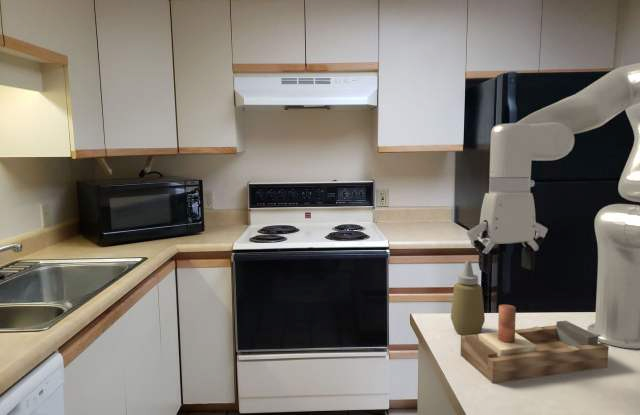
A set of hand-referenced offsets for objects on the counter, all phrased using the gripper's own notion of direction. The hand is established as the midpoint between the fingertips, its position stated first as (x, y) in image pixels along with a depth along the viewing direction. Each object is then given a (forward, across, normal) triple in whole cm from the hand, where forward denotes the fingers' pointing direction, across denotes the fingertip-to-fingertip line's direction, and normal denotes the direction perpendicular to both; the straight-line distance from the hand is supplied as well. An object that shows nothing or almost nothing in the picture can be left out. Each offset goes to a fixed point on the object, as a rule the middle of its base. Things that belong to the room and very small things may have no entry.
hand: (506, 270), depth 87 cm
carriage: (+18, -1, 0) cm, 18 cm away
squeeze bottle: (+20, -2, -17) cm, 27 cm away
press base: (+20, -7, 0) cm, 21 cm away
